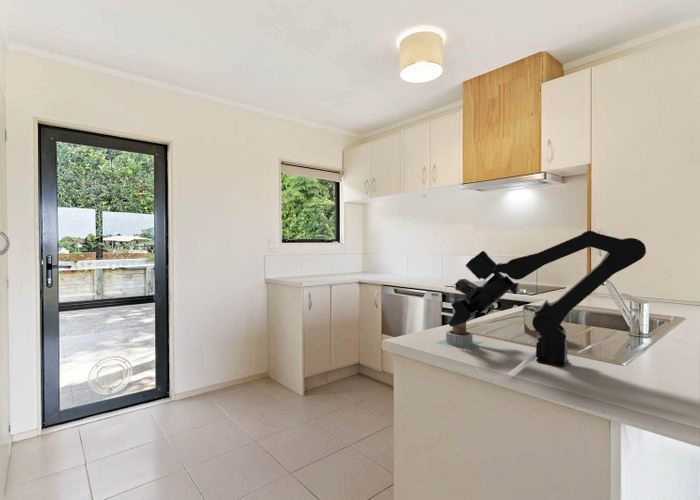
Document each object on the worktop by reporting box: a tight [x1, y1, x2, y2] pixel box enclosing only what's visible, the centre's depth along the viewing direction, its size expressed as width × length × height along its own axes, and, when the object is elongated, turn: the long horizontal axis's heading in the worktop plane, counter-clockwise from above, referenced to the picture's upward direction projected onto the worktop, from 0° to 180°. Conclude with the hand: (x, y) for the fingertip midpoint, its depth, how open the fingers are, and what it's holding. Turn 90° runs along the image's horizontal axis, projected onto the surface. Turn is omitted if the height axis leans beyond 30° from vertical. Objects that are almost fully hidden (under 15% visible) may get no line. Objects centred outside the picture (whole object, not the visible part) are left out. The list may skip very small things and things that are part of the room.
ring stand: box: [436, 329, 482, 350], centre depth 110 cm, size 10×10×4 cm
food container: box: [522, 304, 542, 341], centre depth 123 cm, size 12×6×10 cm, turn 179°
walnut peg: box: [452, 307, 467, 335], centre depth 110 cm, size 4×4×11 cm
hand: (455, 323), depth 111 cm, fingers open, 7 cm apart
